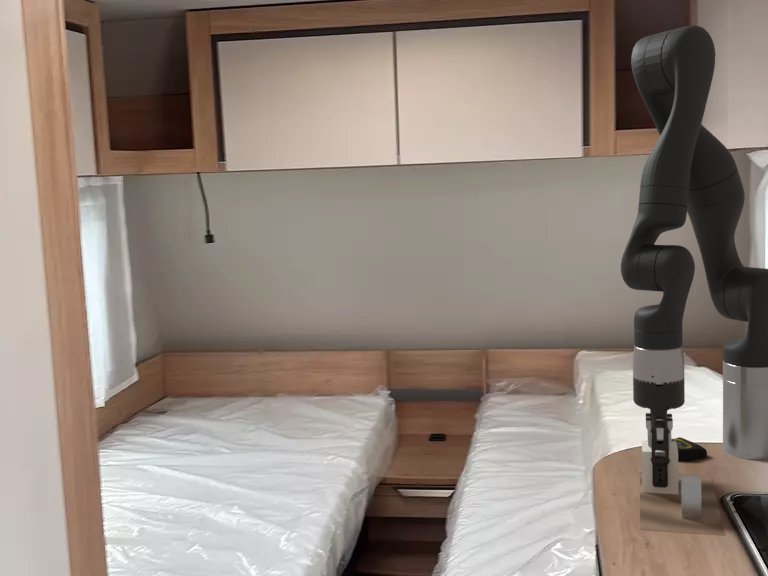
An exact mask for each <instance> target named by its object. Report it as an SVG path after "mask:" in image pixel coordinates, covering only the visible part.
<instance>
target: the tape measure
mask: <svg viewBox="0 0 768 576" xmlns="http://www.w3.org/2000/svg"><path fill="white" fill-rule="evenodd" d="M671 441H675V442H677V449H678V463H679V462H681V463H682V462H684V463H685V462H694V461H697V460H704V459H707V458H708V451H707V449H706V448H704V447H703V446H702V445H700V444H697V443H695V442H693V441H691V440H688V439H686V438H683V437H680V436H679V437H676V438H671Z"/></svg>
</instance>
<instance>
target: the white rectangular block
mask: <svg viewBox="0 0 768 576" xmlns="http://www.w3.org/2000/svg"><path fill="white" fill-rule="evenodd" d="M671 442H672V446H671V448H670V449H669V459H670V462H669V465H668V486H667V487H666V488H661V487H654V486H653V482H652V461H651V458H652V455H651V448H649V447H648V439H647V440H646V439H643V440H642V439H641V455H642V456H641V457H642V458H641V460H642V462H641V463H642V465H641V466H642V467H641V468H642V471H641V472H642V477H643V492H646V493H664V494H678V474H679V461H678V449H677V442H675V441H671ZM655 456H665V451H658V450H657V451H655Z"/></svg>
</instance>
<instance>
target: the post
mask: <svg viewBox="0 0 768 576" xmlns="http://www.w3.org/2000/svg"><path fill="white" fill-rule="evenodd" d="M700 475H701V474H693V475H681V514H682V518H689V519H701V478H700Z"/></svg>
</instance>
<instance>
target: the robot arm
mask: <svg viewBox="0 0 768 576" xmlns="http://www.w3.org/2000/svg"><path fill="white" fill-rule="evenodd" d="M630 63H631V64H630V65H631V72H632V75H633V79H634V82H635V84H636V87H637V89H638V92H639V94H640V96H641V98H642V100H643V102H644V105H645V106H646V108H647V111H648V112H649V115H650V117H651V119H652V121H653V123H654V125H655V127H656V130H657V132H658V134H659V137H658V139H657V140H656V142H655V144H654V146H653V147H652V149H651V151H650V153H649V155H648V157H647V159H646V161H645V163H644V165H643V169H642V173H641V176H640V177H641V178H640V184H639V185H640V186H639V198H638V207H637V215H636V218H635V221H634V224H633V227H632V230H631V233H630V236H629V238H628V241H627V243H626V245H625V249H624V251H623V253H622V257H621V263H620V274H621V277H622V280H623V282H624V284H625V285H627V287H628V288H629V289H632V290H635V291H647V292H648V291H649V292H661V293H662V298H661V300H660V302H659V303H658V304H650V305H646V306H641V307H639V308H638V309H637V310H636V311H635V312H634V317H633V344H634V346H633V347H634V348H633V353H632V355H633V357H632V387H633V388H632V391H633V392H632V393H633V394H632V395H633V398H632V399H633V402H634V404H635V405H636V406H638V407H640V408H643V409H648V410H649V412H645V428H646V430H647V440H648V447H649V448H651V455H652V458H651V461H652V482H653V486H654V487H661V488H666V487H667V486H668V465H669V462H670V459H669V449H670V448H671V446H672V442H671V439H672V430H673V427H674V419H673V413H668V411H670V410H672V409H673V410H676V409H678V408H681V407H683V405H684V404H685V401H686V400H685V399H686V398H685V393H686V392H685V388H686V387H685V383H686V382H685V355H684V348H683V347H684V346H683V318H684V313H685V310H686V305H687V301H688V296H689V293H690V290H691V287H692V283H693V280H694V278H695V277H694V276H695V273H696V272H695V269H696V265H695V260H694V257H693V255H692V253H691V251H690V250H689V249H688V248H687V247H685V246H682V245H678V244H656V242H657V241H658V239H659V237H660V235H662V234H664V233H665V232H669V231H673V230H677V229H680V228H682V227H683V226H684V225H685V224H686V220H687V216H688V218H689V221H690V222H691V226H692V229H693V233H694V236H695V239H696V242H697V245H698V248H699V252H700V255H701V260H702V265H703V268H704V272H705V273H704V274H705V277H706V282H707V288H708V291H709V295H710V298H711V301H712V304H713V306H714V308H715V310H716V311H717V312H718V314H719V315H721V316H722V317H723V318H726V319H729V320H734V321H739V322H746V323H747V329H746V335H745V336H744V337H743V338H739V339H735V340H731V341H728V342H726V343H725V344H724V345H723V347H722V450H723V452H725V454H727V455H729V456H731V457H735V458H738V459H743V460H751V461H753V460H754V461H765V460H768V268H761V267H751V266H744V264H743V263H742V261H741V258H740V257H739V253H738V249H737V246H736V242H735V240H736V239H735V237H736V236H735V235H736V231H737V227H738V223H739V221H740V219H741V215H742V213H743V209H744V204H745V200H746V198H745V197H746V196H745V189H744V185H743V182H742V179H741V176H740V175H741V174H740V172H739V169H738V166H737V164H736V160H735V158H734V157H733V154H732V153H731V152H730V151H729V149H728V148H727V147H726V145H724V144H723V143H722V142H721V141H720V140H719V138H717V137H716V136H714V134H713V133H712V132H711V131H709V130H708V129H707V128H706V127H705V126H704V125H703V124H702V123H703V122H702V121H703V119H704V114H705V111H706V106H707V102H708V98H709V94H710V92H711V91H710V90H711V87H712V82H713V77H714V73H715V68H716V48H715V44H714V41H713V39H712V36H711V35H710V33H709V32H708V31H707V30H706V29H705V28H704V27H702V26H700V25H687V26H683V27H681V26H680V27H678V28H674V29H669V30H666V31H662V32H659V33H654V34H650V35H648V36H644V37H642V38H640V39H639V40H638V41H637V42H635V44H634V47H632V52H631V58H630ZM657 450H658V451H665V456H655V451H657Z"/></svg>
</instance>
